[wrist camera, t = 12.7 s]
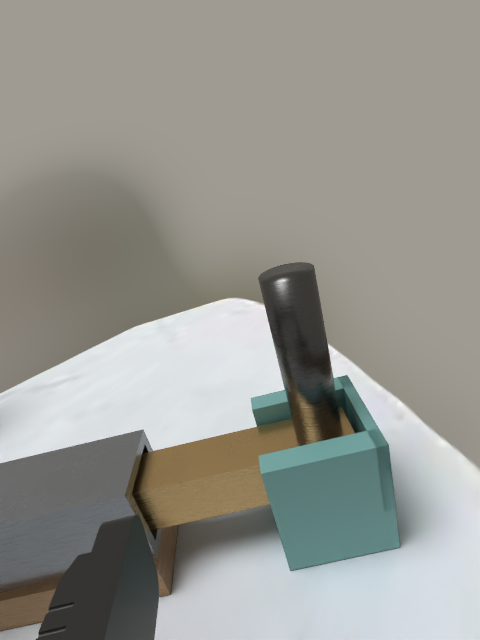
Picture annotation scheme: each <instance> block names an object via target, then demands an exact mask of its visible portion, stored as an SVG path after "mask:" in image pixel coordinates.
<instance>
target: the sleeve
mask: <svg viewBox="0 0 480 640" xmlns="http://www.w3.org/2000/svg"><path fill="white" fill-rule="evenodd" d="M152 451H153V450H152V448H151V446H150V443H149V441H148V439H147V437H146V435H145V432H144V430H139V431H135V432H131V433H127V434H123V435H118V436H114V437H110V438H106V439H101V440H97V441H93V442H89V443H85V444H80V445H76V446H72V447H68V448H64V449H59V450H55V451H51V452H47V453H43V454H38V455H34V456H30V457H26V458H22V459H17V460H13V461H9V462H5V463H1V464H0V631H2V630H7V629H12V628H16V627H21V626H26V625H30V624H35V623H40V622H43V620H44V618H45V615H46V614H47V613H48V611H49V609H48V608H49V605H50V603H51V600H52V598H53V595H54V593H55V590H56V588H57V585H58V583H59V580H60V579H61V577H62V576H63V575H64V573H65V572H66V571H67V569H68V568H69V567H70V565H71V564H72V563H73V562H74V560H75V559H76V558H77V556H78V555H80V554H85V553H89V552H91V551H92V548H93V545H94V542H95V539H96V536H97V533H98V530H99V528H100V526H101V524H102V523H103V522H106V521H111V520H115V519H119V518H124V517H128V516H132V515H138V516H139V517H140V519H141V521H142V524H143V527H144V530H145V533H146V536H147V540H148V543H149V546H150V549H151V552H152V555H153V558H154V562H155V565H156V568H157V574H158V582H159V597H161V596H166V595H171V586H172V577H173V568H174V559H175V550H176V541H177V532H178V525H174V526H170V527H165V528H161V529H157V530H152V531H150V529H149V527H148V525H147V523H146V521H145V519H144V517H143V515H142V513H141V511H140V509H139V507H138V506H137V504H136V502H135V500H134V498H133V496H132V491H133V487H134V483H135V479H136V475H137V472H138V468H139V464H140V460H141V456H142V454H144V453H148V452H152Z"/></svg>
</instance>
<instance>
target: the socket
mask: <svg viewBox="0 0 480 640" xmlns="http://www.w3.org/2000/svg"><path fill="white" fill-rule="evenodd" d="M333 379H334V384H335V390H336V396H337V402H338V408H340V407H342V408H343V410H344V412H345V414H346V416H347V418H348V420H349V422H350V424H351V426H352V428H353V430H354V432H355V434H351V435H346V436H342V437H338V438H333V439H329V440H324V441H320V442H316V443H311V444H307V445H303V446H298V447H294V448H290V449H285V450H281V451H277V452H272V453H268V454H264V455H259V463H260V471H261V476H262V479H263V482H264V486H265V489H266V492H267V496H268V499H269V502H270V505H271V509H272V512H273V515H274V519H275V522H276V525H277V529H278V532H279V535H280V538H281V542H282V545H283V548H284V552H285V555H286V558H287V562H288V565H289V568H290V571H292V570H296V569H301V568H306V567H310V566H315V565H320V564H324V563H329V562H334V561H338V560H343V559H348V558H353V557H357V556H362V555H367V554H371V553H376V552H381V551H385V550H390V549H395V548H399V547H400V543H399V534H398V525H397V516H396V507H395V498H394V489H393V480H392V471H391V462H390V453H389V445H388V443H387V441H386V440H385V438H384V436H383V435H382V433H381V431H380V430H379V428H378V426H377V425H376V423H375V421H374V419H373V418H372V416H371V414H370V413H369V411H368V409H367V408H366V406H365V404H364V403H363V401H362V399H361V398H360V396H359V394H358V392H357V391H356V389H355V387H354V386H353V384H352V382H351V381H350V379H349V377H348V376H347V375H346V376H342V377H337V378H333ZM251 403H252V410H253V414H254V417H255V421H256V424H257V427H259V426H263V425H267V424H272V423H276V422H280V421H284V420H289V419H292V417H291V413H290V409H289V405H288V400H287V396H286V392H285V390H283V391H279V392H274V393H270V394H266V395H262V396H258V397H253V398H251Z"/></svg>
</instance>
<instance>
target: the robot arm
mask: <svg viewBox="0 0 480 640" xmlns="http://www.w3.org/2000/svg"><path fill="white" fill-rule="evenodd" d="M158 601H159V582H158V574H157V568H156V565H155V562H154V558H153V555H152V552H151V549H150V546H149V543H148V540H147V536H146V533H145V530H144V527H143V524H142V521H141V519H140V517H139V516H138V515H132V516H128V517H124V518H119V519H115V520H111V521H106V522H103V523H102V524H101V526H100V528H99V530H98V533H97V536H96V539H95V542H94V545H93V548H92V551H91V552H89V553H85V554H80V555H78V556H77V558H76V559H75V560H74V562H73V563H72V564H71V565H70V567H69V568H68V569H67V571H66V572H65V573H64V575H63V576H62V577H61V579H60V580H59V583H58V585H57V588H56V590H55V593H54V595H53V598H52V600H51V603H50V605H49V608H48V609H49V611H48V613H47V614H46V615H45V618H44V620H43V623H42V625H41V628H40V630H39V637H38V639H36V640H154V635H155V627H156V618H157V610H158Z"/></svg>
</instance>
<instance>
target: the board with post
mask: <svg viewBox="0 0 480 640" xmlns="http://www.w3.org/2000/svg"><path fill="white" fill-rule="evenodd" d="M258 279H259V283H260V287H261V291H262V296H263V300H264V304H265V308H266V313H267V317H268V321H269V325H270V329H271V333H272V338H273V342H274V346H275V350H276V354H277V359H278V363H279V367H280V371H281V375H282V380H283V384H284V388H285V392H286V396H287V400H288V405H289V409H290V413H291V417H292V419H289V420H284V421H280V422H276V423H272V424H267V425H263V426H259V427H255V428H250V429H246V430H242V431H237V432H233V433H229V434H225V435H220V436H216V437H212V438H208V439H203V440H199V441H195V442H190V443H186V444H182V445H178V446H173V447H169V448H165V449H161V450H156V451H152V452H148V453H144V454H142V456H141V460H140V464H139V468H138V472H137V475H136V479H135V483H134V487H133V491H132V496H133V498H134V500H135V502H136V504H137V506H138V507H139V509H140V511H141V513H142V515H143V517H144V519H145V521H146V523H147V525H148V527H149V529H150V531H152V530H157V529H161V528H165V527H170V526H174V525H179V524H183V523H188V522H192V521H197V520H201V519H206V518H210V517H215V516H219V515H224V514H228V513H233V512H237V511H242V510H246V509H251V508H255V507H260V506H264V505H268V504H270V502H269V499H268V496H267V492H266V489H265V486H264V482H263V479H262V476H261V471H260V463H259V455H264V454H268V453H272V452H277V451H281V450H285V449H290V448H294V447H298V446H303V445H307V444H311V443H316V442H320V441H324V440H329V439H333V438H338V437H342V436H346V435H351V434H355V432H354V430H353V428H352V426H351V424H350V422H349V420H348V418H347V416H346V414H345V412H344V410H343V408H342V407H340V408H338V402H337V396H336V390H335V384H334V379H333V373H332V367H331V361H330V356H329V350H328V344H327V338H326V333H325V327H324V321H323V315H322V310H321V303H320V298H319V292H318V286H317V281H316V275H315V269H314V265H312V264H310V263H302V262H301V263H300V262H299V263H290V264H284V265H280V266H277V267H274V268H271V269H269V270H267V271H265V272H263V273H262V274H261V275H260V276H259V278H258Z"/></svg>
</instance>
